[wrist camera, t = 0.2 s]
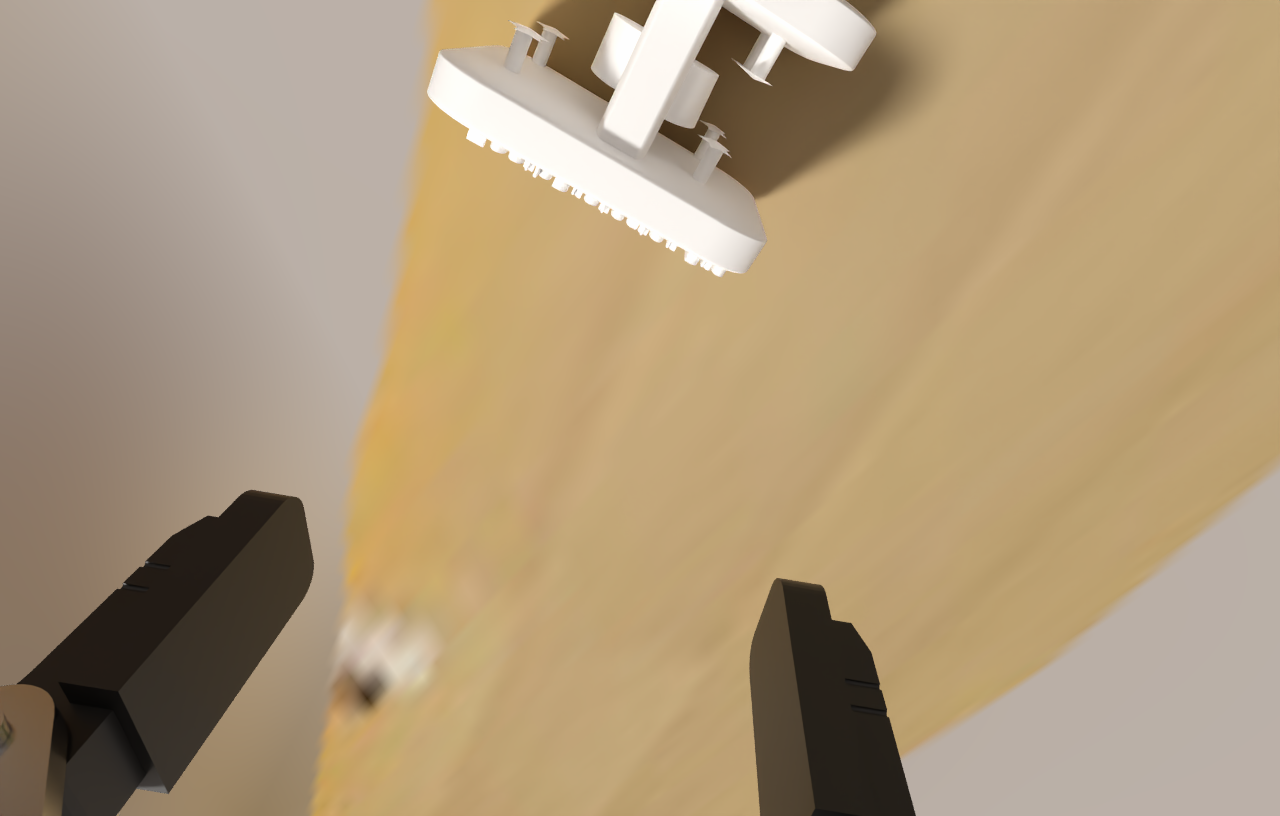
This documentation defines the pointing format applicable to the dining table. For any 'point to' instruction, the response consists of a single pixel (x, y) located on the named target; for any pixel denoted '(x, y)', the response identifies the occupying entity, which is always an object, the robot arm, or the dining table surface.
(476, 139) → the cable organizer
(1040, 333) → the dining table surface
